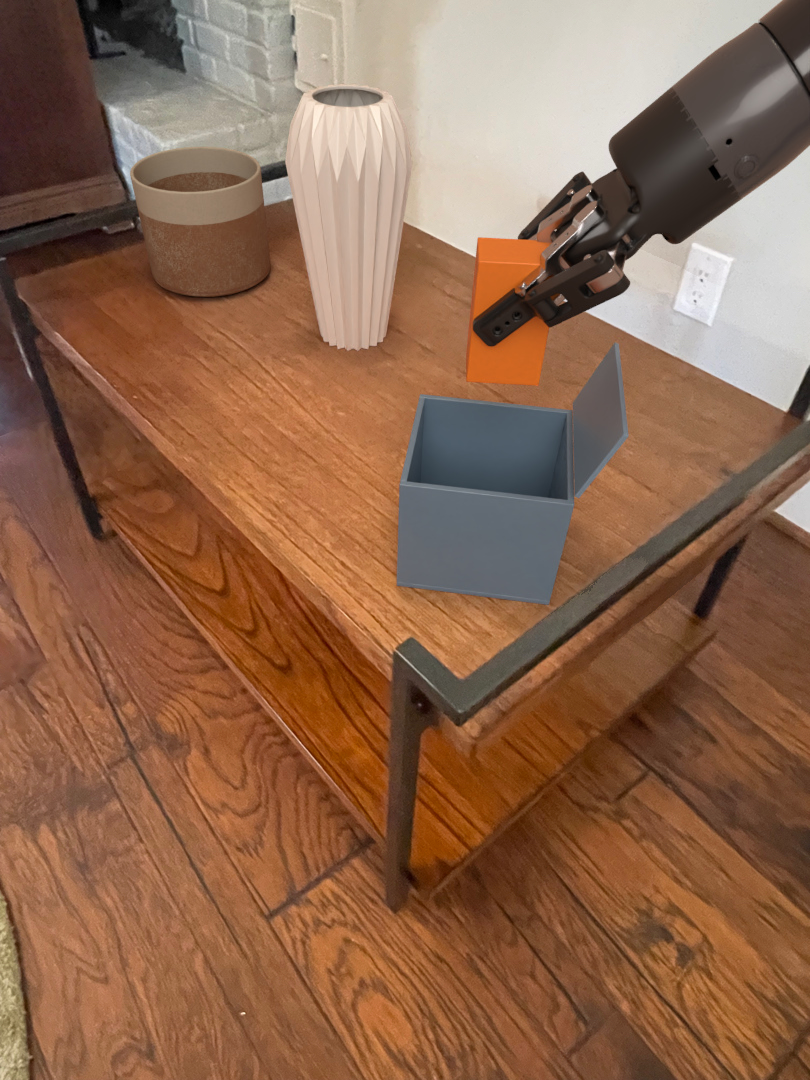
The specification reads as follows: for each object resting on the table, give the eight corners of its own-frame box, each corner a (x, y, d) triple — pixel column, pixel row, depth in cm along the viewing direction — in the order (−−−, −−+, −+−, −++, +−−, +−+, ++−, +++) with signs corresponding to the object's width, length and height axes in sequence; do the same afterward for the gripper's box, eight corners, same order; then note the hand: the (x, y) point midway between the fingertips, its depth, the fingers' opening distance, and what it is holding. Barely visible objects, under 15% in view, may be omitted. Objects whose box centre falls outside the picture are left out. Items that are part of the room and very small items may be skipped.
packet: (535, 359, 56) (556, 240, 50) (538, 386, 54) (561, 265, 47) (465, 355, 56) (477, 236, 50) (466, 382, 54) (478, 261, 47)
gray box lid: (572, 402, 63) (576, 404, 63) (574, 496, 55) (579, 498, 55) (614, 341, 58) (619, 343, 59) (623, 434, 50) (629, 436, 50)
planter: (212, 238, 111) (196, 137, 101) (294, 268, 105) (286, 164, 95) (128, 278, 102) (101, 171, 92) (213, 314, 96) (195, 203, 86)
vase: (282, 321, 95) (259, 85, 76) (376, 298, 100) (376, 71, 81) (326, 374, 87) (312, 124, 68) (426, 347, 91) (439, 106, 73)
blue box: (550, 509, 72) (572, 409, 63) (548, 605, 63) (574, 504, 55) (415, 493, 73) (420, 393, 64) (396, 585, 64) (399, 484, 56)
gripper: (656, 52, 46) (445, 236, 55) (708, 127, 37) (441, 337, 45) (714, 149, 50) (508, 307, 59) (776, 240, 40) (517, 414, 49)
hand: (480, 319), depth 52 cm, fingers closed on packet, 3 cm apart
